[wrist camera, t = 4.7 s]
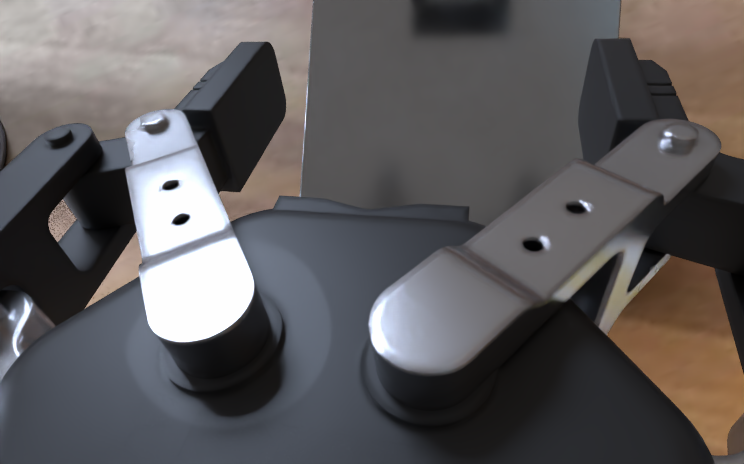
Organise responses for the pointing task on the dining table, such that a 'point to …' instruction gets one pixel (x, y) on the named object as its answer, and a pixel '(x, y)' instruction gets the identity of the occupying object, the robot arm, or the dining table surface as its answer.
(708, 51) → the dining table surface
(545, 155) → the lid
